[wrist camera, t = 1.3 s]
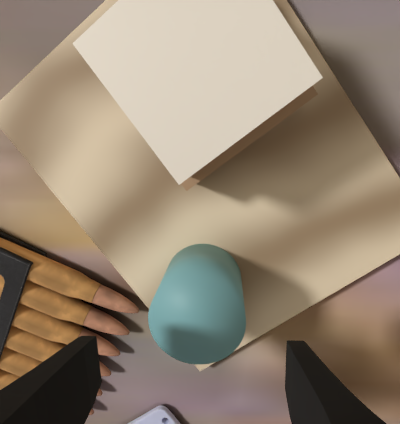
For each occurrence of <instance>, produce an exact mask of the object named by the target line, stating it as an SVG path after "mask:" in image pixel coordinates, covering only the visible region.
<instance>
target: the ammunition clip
mask: <svg viewBox="0 0 400 424" xmlns="http://www.w3.org/2000/svg"><path fill="white" fill-rule="evenodd" d="M79 299H82V300H84V301H87V302H90V303H94V304H96V305H99V306H102V307H104V308H107V309H111V310H114V311H119V312H125V313H138V312H139V309H138V307H137V306H136V305H135V304H134V303H133V302H131V301H130V300H129V299H127V298H126V297H124V296H123V295H121V294H120V293H118V292H116V291H114V290H112V289H110V288H108V287H106V286H103V285H102V284H100V283H98V282H96V281H94V280H92V279H90V278H89V277H87V276H86V275H84V274H83V273H81V272H79V271H77V270H75V269H72V268H70V267H68V266H65V265H63V264H61V263H59V262H56V261H54V260H52V259H49V258H47V257H46V253H45V252H43V251H41V250H39V249H37V248H35V247H33V246H30V245H28V244H26V243H24V242H22V241H20V240H18V239H16V238H14V237H12V236H9V235H7V234H5V233H3V232H1V231H0V390H1V389H3V388H4V387H6V386H7V385H9V384H10V383H12V382H13V381H15V380H17V379H18V378H20V377H21V376H23V375H24V374H26V373H27V372H29V371H30V370H32V369H33V368H35V367H36V366H38V365H39V364H41V363H42V362H43V361H45V360H46V359H48V358H49V357H51V356H52V355H53V354H55V353H56V352H58V351H59V350H60V349H62V348H63V347H65V346H66V345H68V344H69V343H70V342H72V341H73V340H75V339H76V338H78V337H80V336H96V338H97V346H98V354H99V355H105V356H119V355H120V351H119V350H118V349H117V348H116V347H115V346H114V345H113V344H112V343H110V342H109V341H107V340H106V339H105V338H103V337H101V336H99V335H98V334H96V333H94V332H91V331H89V330H87V329H84V327H81V326H79V325H77V324H80V325H82V326H83V325H84V326H86V327H89V328H91V329H94V330H97V331H101V332H104V333H109V334H115V335H128V334H129V330H128V329H127V328H126V327H125V326H124V325H123V324H122V323H121V322H119V321H118V320H117V319H115V318H114V317H112V316H110V315H108V314H107V313H105V312H103V311H101V310H98V309H96V308H94V307H93V306H91V305H89V304H86V303H84V302H82V301H81V300H79ZM73 322H74V323H73ZM75 323H77V324H75ZM99 363H100V371H101V376H110V375H111V371H110V370H109V369H108V368H107V367H106V366H105V365H104V364H103V363H101V362H100V361H99ZM101 395H102V391H101V390H100V388H99V391H98V393H97V396H101ZM93 413H94V411H93V409H91V411H90V413H89V415H92V414H93Z"/></svg>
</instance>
